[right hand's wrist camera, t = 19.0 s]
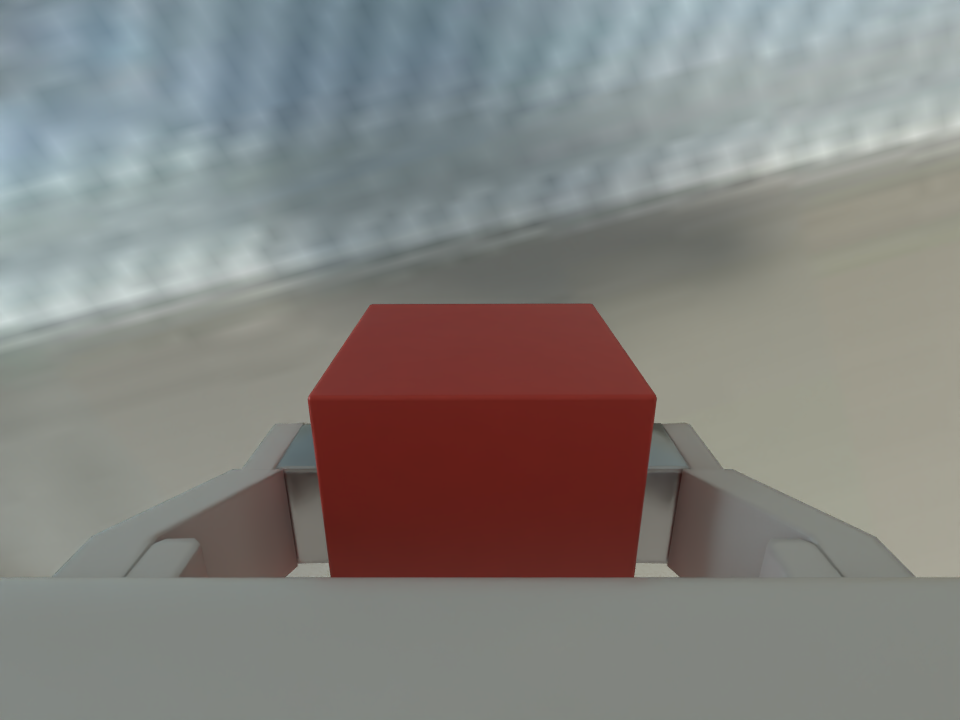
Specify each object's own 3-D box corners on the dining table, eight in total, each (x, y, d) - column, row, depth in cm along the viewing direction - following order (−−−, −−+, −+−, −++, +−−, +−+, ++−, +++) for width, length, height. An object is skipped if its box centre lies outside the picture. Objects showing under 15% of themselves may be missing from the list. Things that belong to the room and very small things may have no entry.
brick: (577, 517, 13) (621, 688, 9) (385, 518, 13) (343, 689, 9) (593, 303, 11) (659, 396, 7) (369, 303, 11) (305, 396, 7)
